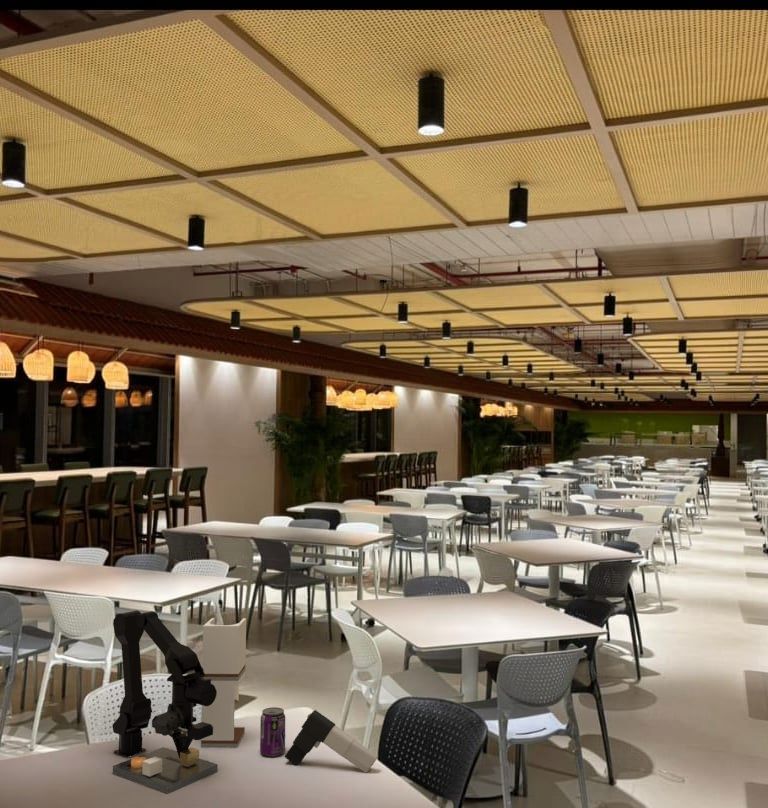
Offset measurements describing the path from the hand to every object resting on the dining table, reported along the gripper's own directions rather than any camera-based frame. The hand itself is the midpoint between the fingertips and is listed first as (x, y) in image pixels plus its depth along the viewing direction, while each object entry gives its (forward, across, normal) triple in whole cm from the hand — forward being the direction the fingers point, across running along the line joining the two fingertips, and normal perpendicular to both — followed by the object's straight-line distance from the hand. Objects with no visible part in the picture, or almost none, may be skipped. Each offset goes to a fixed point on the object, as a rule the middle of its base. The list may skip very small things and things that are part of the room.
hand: (181, 758), depth 215 cm
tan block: (+1, +3, 0) cm, 3 cm away
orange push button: (+3, -8, -8) cm, 11 cm away
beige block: (+1, 0, -10) cm, 10 cm away
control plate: (+3, -2, -4) cm, 5 cm away
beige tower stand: (+3, -7, +22) cm, 23 cm away
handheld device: (+3, +32, +25) cm, 41 cm away
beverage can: (+3, +12, +23) cm, 26 cm away
